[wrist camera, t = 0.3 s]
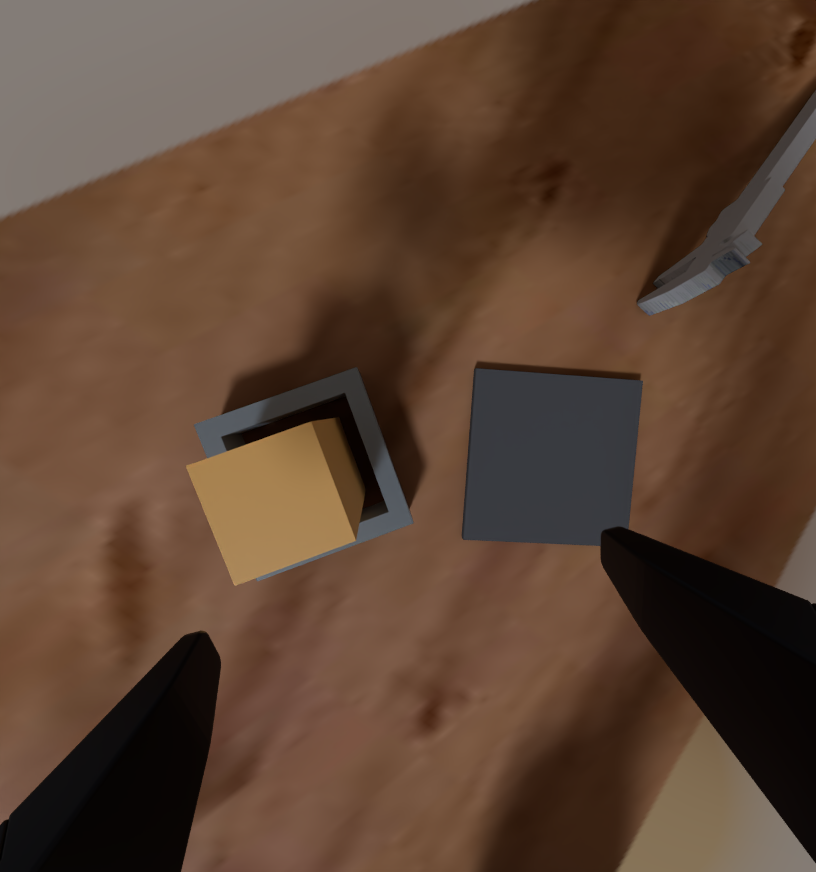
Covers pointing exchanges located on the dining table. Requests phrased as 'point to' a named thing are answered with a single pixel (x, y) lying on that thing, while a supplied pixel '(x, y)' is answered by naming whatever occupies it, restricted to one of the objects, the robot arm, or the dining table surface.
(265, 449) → the block
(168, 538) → the dining table surface
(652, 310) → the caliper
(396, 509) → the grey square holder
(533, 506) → the mat
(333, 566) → the dining table surface
